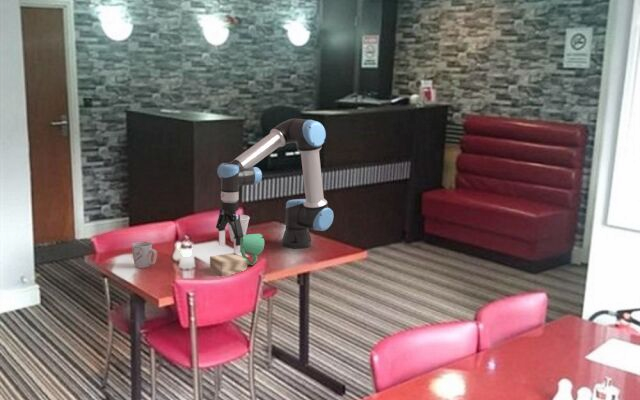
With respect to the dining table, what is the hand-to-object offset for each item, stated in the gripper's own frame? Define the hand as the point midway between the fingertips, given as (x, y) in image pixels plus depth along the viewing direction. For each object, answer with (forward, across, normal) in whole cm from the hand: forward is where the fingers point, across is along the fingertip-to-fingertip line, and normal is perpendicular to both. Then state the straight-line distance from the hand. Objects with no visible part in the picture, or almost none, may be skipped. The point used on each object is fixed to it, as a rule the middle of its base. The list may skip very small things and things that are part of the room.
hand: (229, 249), depth 297 cm
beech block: (+10, 0, 0) cm, 10 cm away
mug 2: (+1, -3, +7) cm, 7 cm away
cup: (+10, -43, +28) cm, 52 cm away
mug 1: (+10, -23, -29) cm, 38 cm away
